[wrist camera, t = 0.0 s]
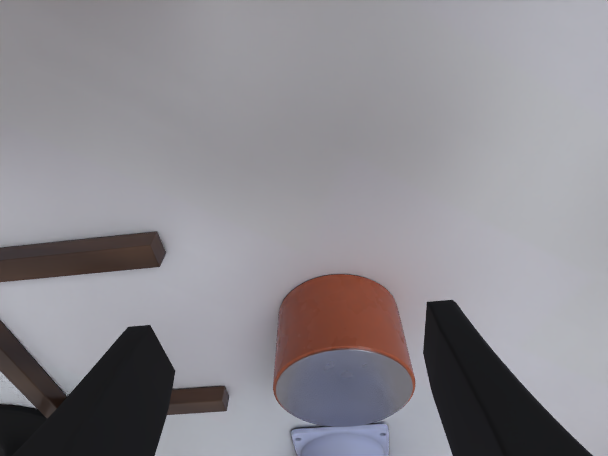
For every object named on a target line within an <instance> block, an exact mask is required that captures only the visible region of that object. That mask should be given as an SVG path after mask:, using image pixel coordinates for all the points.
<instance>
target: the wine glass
mask: <svg viewBox="0 0 608 456" xmlns="http://www.w3.org/2000/svg"><path fill="white" fill-rule="evenodd" d="M46 419H47V418H46V417H45V416H44V415H43V414H42V413H41V412H40V411H39V410H36V409H32V408H27V407H22V406H14V405H0V456H12V455H13V454H14V453H15V452H16V451H17V450H18V449H19V448H20V447H21V446H22V445H23V444H24V443H25V442H26V441H27V440H28V439H29V438H30V436H31V435H32V434H33V433H34V432H35V431H36V430H37V429H38V428H39V427H40V426H41V425H42V424H43V423H44V422H45V421H46Z"/></svg>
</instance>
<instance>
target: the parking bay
mask: <svg viewBox="0 0 608 456" xmlns="http://www.w3.org/2000/svg"><path fill="white" fill-rule="evenodd" d="M165 254H166V251H165V249H164V247H163V244H162V242H161V240H160V237H159V235H158V233H157V232H148V233H139V234H129V235H120V236H110V237H100V238H91V239H81V240H71V241H62V242H52V243H43V244H33V245H23V246H14V247H4V248H0V282H7V281H18V280H28V279H39V278H49V277H59V276H70V275H80V274H91V273H101V272H111V271H122V270H132V269H143V268H153V267H160V265H161V263H162V261H163V259H164V256H165ZM0 371H1V372H2V373H3V374H4V375H5V376H6V377H7V378H8V379H9V380H10V381H11V382H12V383H13V384H14V385H15V386H16V388H17V389H18V390H19V391H20V392H21V393H22V394H23V395H24V396H25V397H26V398H27V399H28V400H29V401H30V402H31V403H32V404H33V405H34V406H35V407H36V408H37V409H38V410H39V411H40V412H41V413H42V414H43V415H44V416H45V417H46V418H48V417H49V416H50V415H51V414H52V413H53V412H54V411H55V410H56V409H57V408H58V407H59V406H60V405H61V403H62V402H63V401H64V400H65V399H66V398H67V396H66V395H65V394H64V393H63V392H62V391H61V390H60V388H59V387H58V386H57V385H56V384H55V383H54V382H53V380H52V379H51V378H50V377H49V376H48V375H47V374H46V372H45V371H44V370H43V369H42V368H41V367H40V366H39V364H38V363H37V362H36V361H35V360H34V359H33V358H32V356H31V355H30V354H29V353H28V352H27V351H26V350H25V348H24V347H23V346H22V345H21V344H20V343H19V342H18V340H17V339H16V338H15V337H14V336H13V335H12V334H11V332H10V331H9V330H8V329H7V328H6V327H5V326H4V324H3V323H2V322H1V321H0ZM228 400H229V396H228V393H227V391H226V389H225V387H224V386H219V387H205V388H190V389H176V390H172V393H171V398H170V404H169V409H168V412H167V415H174V414H189V413H205V412H221V411H227V406H228Z"/></svg>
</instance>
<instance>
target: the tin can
mask: <svg viewBox="0 0 608 456" xmlns="http://www.w3.org/2000/svg"><path fill="white" fill-rule="evenodd" d="M414 390H415V377H414V373H413V369H412V365H411V361H410V357H409V353H408V348H407V344H406V340H405V336H404V332H403V328H402V324H401V320H400V316H399V311H398V307H397V304H396V302H395V300H394V298H393V296H392V295H391V294H390V293H389V292H388V291H387V290H386V289H385V288H384V287H383V286H381V285H380V284H378V283H376V282H374V281H372V280H370V279H367V278H364V277H360V276H355V275H345V274H336V275H327V276H322V277H317V278H314V279H311V280H309V281H307V282H304V283H302V284H301V285H299V286H298V287H296V288H295V289H293V290H292V291H291V292H290V293H289V294H288V295H287V296H286V298H285V299H284V301H283V302H282V304H281V307H280V310H279V317H278V330H277V343H276V356H275V369H274V382H273V391H274V395H275V397H276V400H277V401H278V403H279V404H280V405H281V406H282V407H283V408H284V409H285V410H286V411H287V412H289V413H290V414H292V415H294V416H295V417H297V418H299V419H302V420H304V421H307V422H310V423H314V424H318V425H323V426H331V427H351V426H359V425H365V424H369V423H373V422H376V421H380V420H382V419H384V418H387V417H389V416H391V415H393V414H394V413H396V412H397V411H399V410H400V409H401V408H402V407H404V406H405V405H406V404H407V403H408V401H409V400H410V399H411V397H412V395H413V393H414Z"/></svg>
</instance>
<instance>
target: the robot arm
mask: <svg viewBox="0 0 608 456" xmlns="http://www.w3.org/2000/svg"><path fill="white" fill-rule="evenodd" d="M423 354H424V359H425V363H426V368H427V373H428V377H429V381H430V386H431V390H432V394H433V397H434V400H435V403H436V406H437V409H438V412H439V415H440V418H441V421H442V424H443V427H444V430H445V433H446V436H447V439H448V442H449V445H450V448H451V451H452V454H453V456H593V455H592V454H590V453H589V452H588V451H587V450H586V449H585V448H584V447H583V446H582V445H581V444H580V443H579V442H578V441H577V440H576V439H575V438H574V437H573V436H572V435H571V434H570V433H568V432H567V431H566V430H565V429H564V428H563V427H562V426H561V425H560V424H559V423H558V422H557V421H556V420H555V419H554V418H553V416H552V415H551V414H550V413H549V412H548V411H547V410H546V409H545V408H544V407H543V406H542V405H541V404H540V403H539V402H538V401H537V400H536V399H535V398H534V397H533V396H532V394H531V393H530V392H529V391H528V390H527V389H526V388H525V387H524V386H523V385H522V384H521V382H520V381H519V380H518V379H517V378H516V377H515V376H514V374H513V373H512V372H511V371H510V370H509V369H508V368H507V366H506V365H505V364H504V363H503V362H502V361H501V360H500V358H499V357H498V356H497V355H496V354H495V352H494V351H493V350H492V349H491V348H490V346H489V345H488V344H487V343H486V341H485V340H484V339H483V338H482V337H481V335H480V334H479V333H478V331H477V330H476V329H475V328H474V326H473V325H472V324H471V322H470V321H469V320H468V318H467V317H466V316H465V314H464V313H463V312H462V310H461V309H460V308H459V306H458V305H457V303H456V302H454V301H453V300H445V301H433V302H427V310H426V323H425V336H424V350H423ZM174 375H175V370H174V368H173V366H172V364H171V362H170V361H169V359H168V357H167V355H166V353H165V351H164V350H163V348H162V346H161V344H160V342H159V340H158V339H157V337H156V335H155V333H154V331H153V329H152V328H151V326H150V325H145V326H133V327H128V328H127V329H126V330H125V331H124V332H123V333H122V335H121V336H120V337H119V338H118V339H117V340H116V341H115V343H114V344H113V345H112V346H111V347H110V348H109V350H108V351H107V352H106V353H105V354H104V355H103V357H102V358H101V359H100V360H99V361H98V362H97V364H96V365H95V366H94V367H93V368H92V369H91V371H90V372H89V373H88V374H87V375H86V376H85V377H84V379H83V380H82V381H81V382H80V383H79V384H78V385H77V386H76V388H75V389H74V390H73V391H72V392H71V393H70V394H69V396H68V397H67V398H66V399H65V400H64V401H63V402H62V403H61V405H60V406H59V407H58V408H57V409H56V410H55V411H54V412H53V413H52V414H51V415H50V416H49V417H48V418H47V419H46V421H45V422H44V423H43V424H42V425H41V426H40V427H39V428H38V429H37V430H36V431H35V432H34V433H33V434H32V435H31V436H30V438H29V439H28V440H27V441H26V442H25V443H24V444H23V445H22V446H21V447H20V448H19V449H18V450H17V451H16V452H15V453H14V454H13V455H12V456H155V452H156V449H157V446H158V443H159V439H160V436H161V433H162V429H163V426H164V423H165V419H166V416H167V412H168V409H169V404H170V398H171V393H172V387H173V381H174ZM291 437H292V440H293V443H294V447H295V450H296V453H297V456H389V435H388V426H387V425H386V424H370V425H359V426H351V427H319V428H302V429H294V430H292V432H291Z"/></svg>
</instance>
